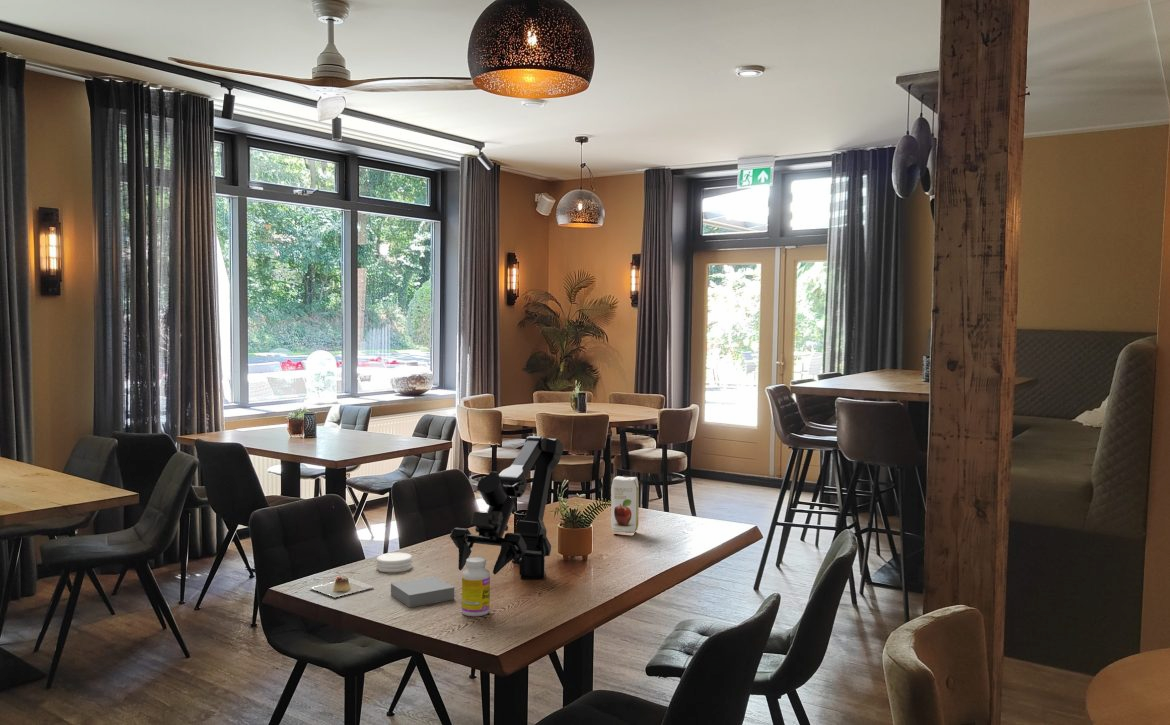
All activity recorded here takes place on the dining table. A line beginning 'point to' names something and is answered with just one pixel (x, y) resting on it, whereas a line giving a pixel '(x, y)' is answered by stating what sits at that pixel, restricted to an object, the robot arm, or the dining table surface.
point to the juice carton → (624, 504)
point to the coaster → (394, 562)
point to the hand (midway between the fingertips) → (476, 571)
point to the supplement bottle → (475, 588)
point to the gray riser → (422, 591)
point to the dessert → (342, 585)
